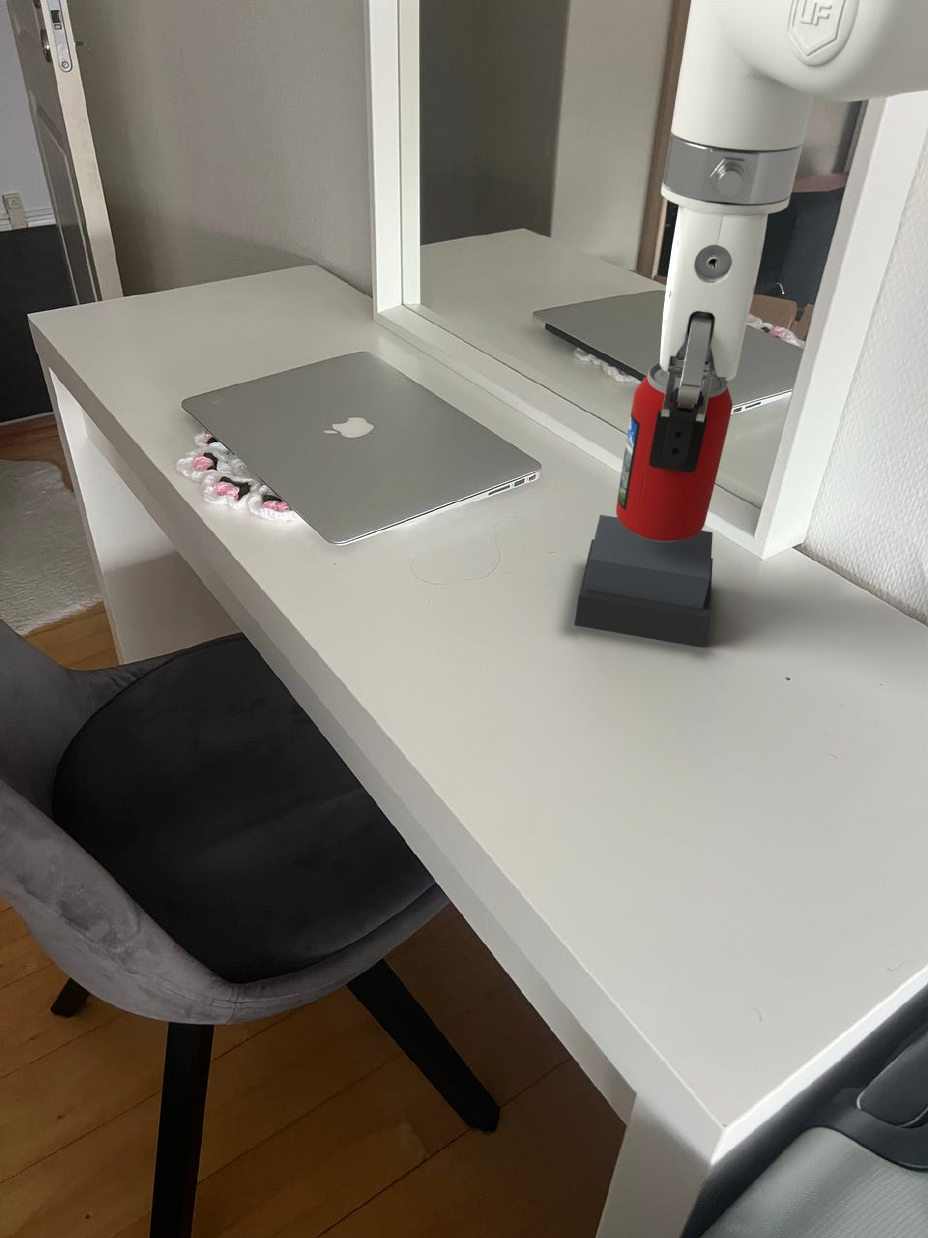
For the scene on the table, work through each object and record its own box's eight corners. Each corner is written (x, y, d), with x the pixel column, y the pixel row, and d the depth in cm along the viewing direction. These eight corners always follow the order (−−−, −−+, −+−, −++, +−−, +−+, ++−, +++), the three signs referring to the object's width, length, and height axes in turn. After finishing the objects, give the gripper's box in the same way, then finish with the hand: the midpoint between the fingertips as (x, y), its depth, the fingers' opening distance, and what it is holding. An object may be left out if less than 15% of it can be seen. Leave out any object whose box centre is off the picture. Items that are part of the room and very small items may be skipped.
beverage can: (649, 491, 73) (675, 347, 66) (720, 526, 70) (757, 378, 62) (595, 522, 69) (617, 373, 62) (668, 560, 66) (701, 407, 58)
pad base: (705, 587, 77) (713, 558, 75) (702, 647, 71) (709, 617, 69) (587, 567, 78) (591, 538, 76) (574, 625, 72) (578, 595, 70)
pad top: (705, 562, 74) (712, 531, 72) (702, 609, 70) (710, 578, 68) (595, 544, 76) (600, 514, 74) (585, 590, 71) (589, 558, 69)
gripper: (801, 218, 47) (726, 514, 58) (789, 144, 60) (730, 397, 71) (653, 204, 48) (608, 496, 59) (673, 134, 61) (633, 384, 72)
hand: (675, 440), depth 65 cm, fingers closed on beverage can, 6 cm apart
